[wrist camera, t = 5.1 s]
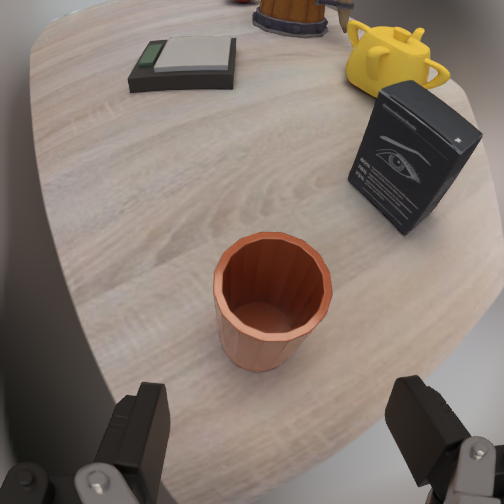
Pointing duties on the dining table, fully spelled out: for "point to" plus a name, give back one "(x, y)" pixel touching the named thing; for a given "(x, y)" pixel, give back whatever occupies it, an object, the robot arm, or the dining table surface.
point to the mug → (299, 16)
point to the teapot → (390, 58)
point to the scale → (185, 64)
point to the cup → (269, 298)
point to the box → (411, 153)
